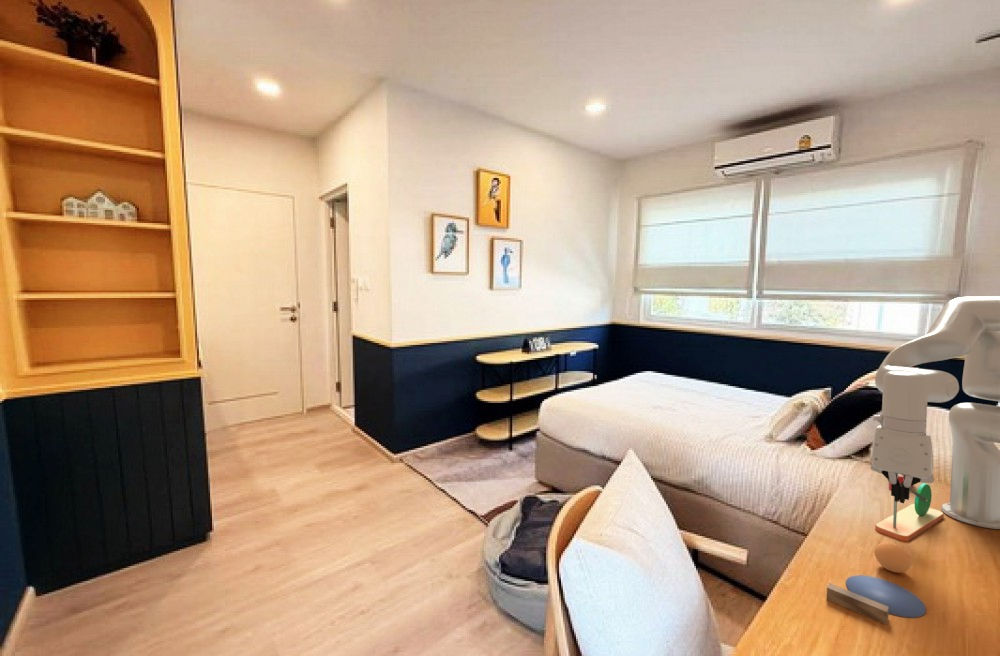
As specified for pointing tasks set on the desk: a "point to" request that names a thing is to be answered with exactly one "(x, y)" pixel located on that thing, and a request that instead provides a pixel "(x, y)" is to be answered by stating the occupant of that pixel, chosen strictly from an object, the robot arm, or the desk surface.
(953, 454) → the robot arm
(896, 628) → the desk surface
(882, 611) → the stopper strip
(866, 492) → the desk surface
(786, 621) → the desk surface
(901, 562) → the ball
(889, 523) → the crank mechanism
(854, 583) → the mark
